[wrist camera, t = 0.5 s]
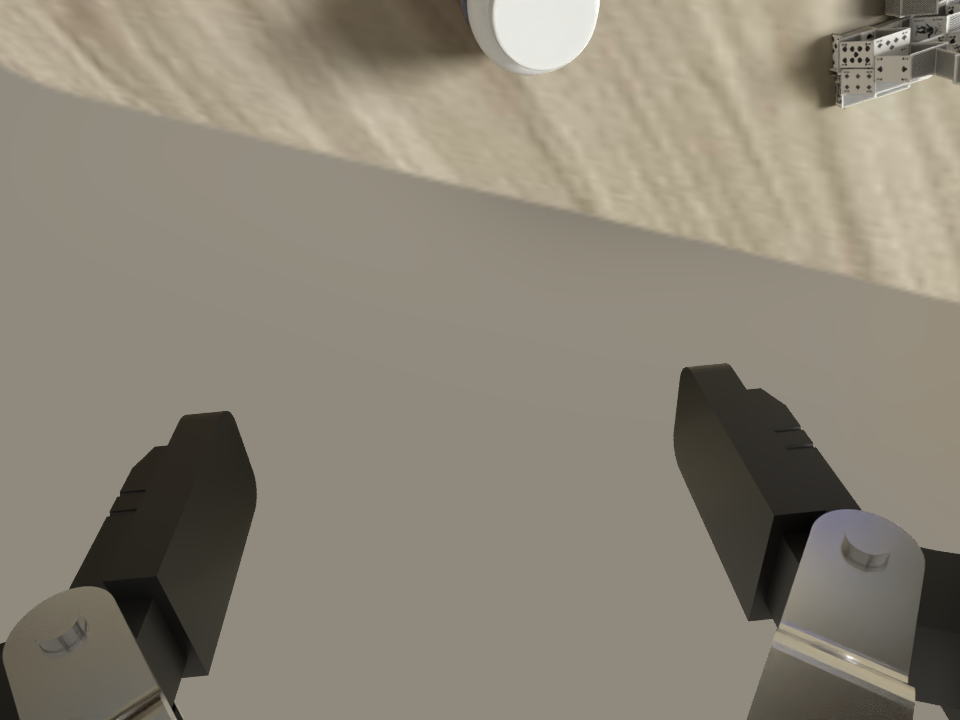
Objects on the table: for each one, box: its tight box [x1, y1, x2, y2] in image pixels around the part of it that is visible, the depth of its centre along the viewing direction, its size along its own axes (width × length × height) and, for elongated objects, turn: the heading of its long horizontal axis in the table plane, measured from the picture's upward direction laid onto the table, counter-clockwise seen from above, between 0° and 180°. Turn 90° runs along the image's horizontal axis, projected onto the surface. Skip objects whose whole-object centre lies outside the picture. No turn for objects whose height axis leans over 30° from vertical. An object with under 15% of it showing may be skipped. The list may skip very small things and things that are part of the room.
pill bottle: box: [461, 0, 600, 76], centre depth 29 cm, size 5×5×10 cm
